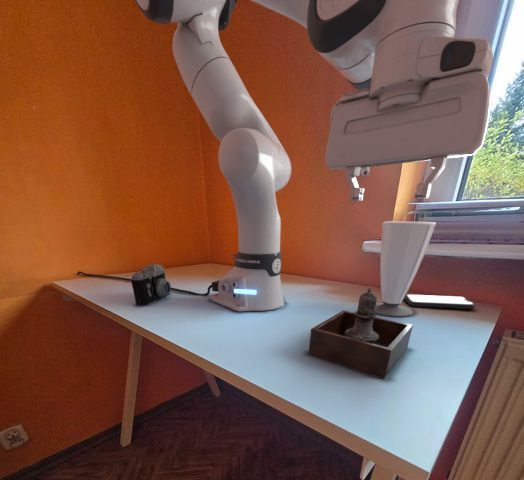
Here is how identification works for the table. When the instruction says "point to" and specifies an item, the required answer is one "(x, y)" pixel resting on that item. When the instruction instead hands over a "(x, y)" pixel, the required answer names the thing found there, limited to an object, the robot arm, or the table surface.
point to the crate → (360, 344)
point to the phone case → (439, 301)
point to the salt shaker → (364, 319)
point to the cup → (400, 262)
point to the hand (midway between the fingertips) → (386, 199)
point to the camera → (150, 285)
